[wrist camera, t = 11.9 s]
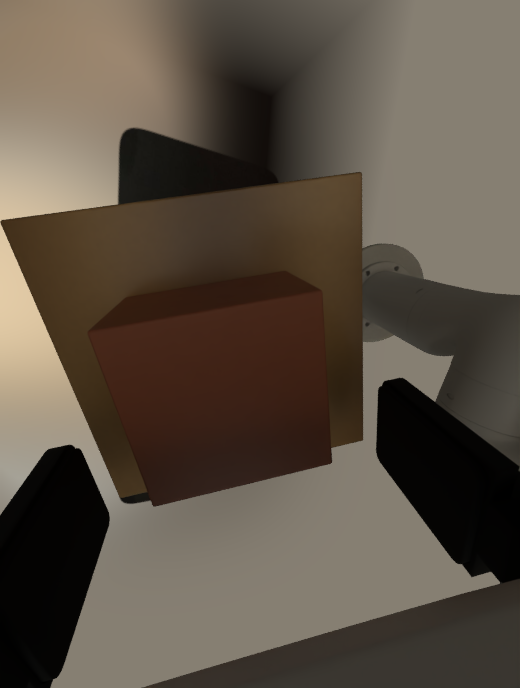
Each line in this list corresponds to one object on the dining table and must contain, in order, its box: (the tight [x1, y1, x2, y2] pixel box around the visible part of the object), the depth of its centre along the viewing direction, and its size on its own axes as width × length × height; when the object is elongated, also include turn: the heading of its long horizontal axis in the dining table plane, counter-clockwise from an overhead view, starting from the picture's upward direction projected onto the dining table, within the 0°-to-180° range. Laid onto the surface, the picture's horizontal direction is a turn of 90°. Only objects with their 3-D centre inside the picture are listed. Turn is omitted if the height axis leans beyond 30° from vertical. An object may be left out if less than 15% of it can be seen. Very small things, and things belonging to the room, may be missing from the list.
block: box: [87, 271, 332, 506], centre depth 9 cm, size 5×5×3 cm
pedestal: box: [1, 172, 363, 498], centre depth 29 cm, size 10×10×41 cm
